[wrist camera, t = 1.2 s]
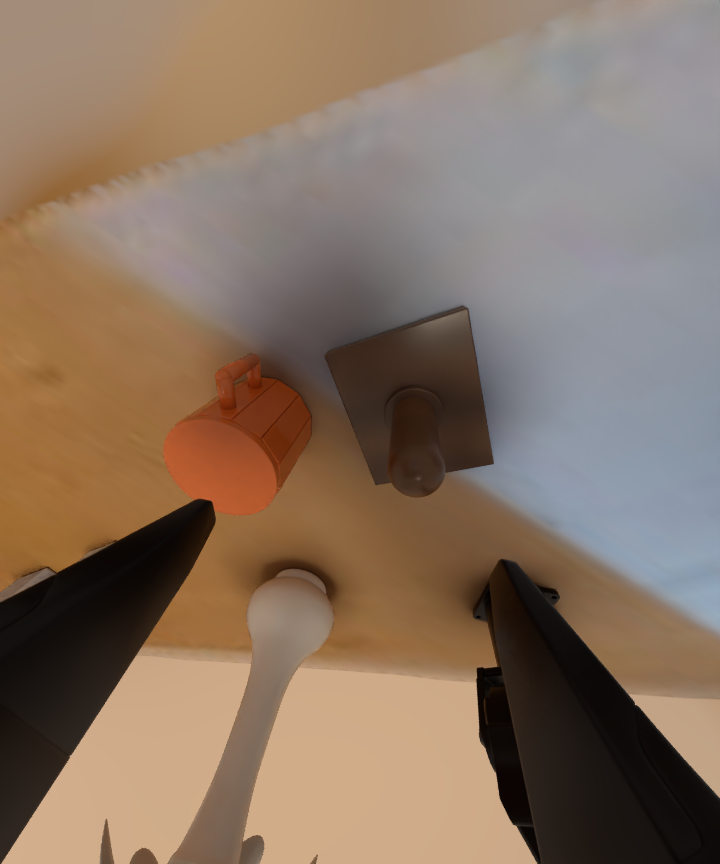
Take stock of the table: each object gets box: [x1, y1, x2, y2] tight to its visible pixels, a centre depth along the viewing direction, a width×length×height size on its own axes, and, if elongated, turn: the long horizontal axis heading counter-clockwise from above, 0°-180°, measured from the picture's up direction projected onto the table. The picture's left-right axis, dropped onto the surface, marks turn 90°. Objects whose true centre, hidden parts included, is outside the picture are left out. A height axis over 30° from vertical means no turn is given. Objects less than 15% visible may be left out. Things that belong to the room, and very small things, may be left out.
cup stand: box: [325, 306, 494, 497], centre depth 17 cm, size 11×9×9 cm
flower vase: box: [100, 569, 334, 864], centre depth 23 cm, size 13×18×25 cm
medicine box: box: [0, 568, 56, 602], centre depth 39 cm, size 8×4×9 cm, turn 118°
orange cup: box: [163, 353, 311, 515], centre depth 20 cm, size 9×7×7 cm
